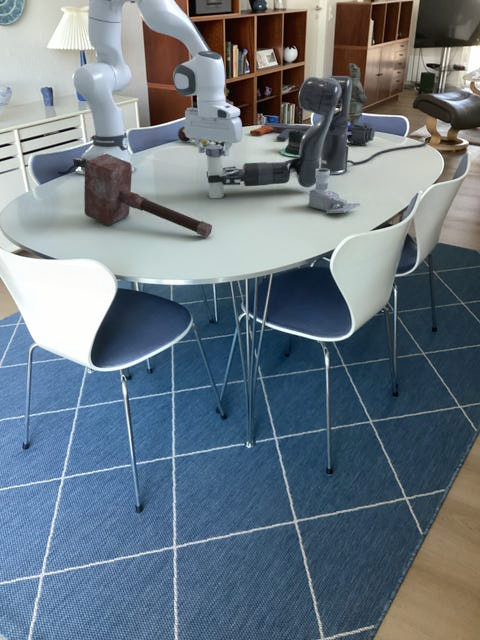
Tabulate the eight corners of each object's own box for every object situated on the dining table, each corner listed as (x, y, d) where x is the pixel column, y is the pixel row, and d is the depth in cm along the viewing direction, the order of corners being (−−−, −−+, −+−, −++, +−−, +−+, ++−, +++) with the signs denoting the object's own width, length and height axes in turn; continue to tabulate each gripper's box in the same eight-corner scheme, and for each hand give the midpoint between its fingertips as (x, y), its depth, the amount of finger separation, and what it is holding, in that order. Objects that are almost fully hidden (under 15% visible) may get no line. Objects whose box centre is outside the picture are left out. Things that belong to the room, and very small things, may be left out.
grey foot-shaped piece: (322, 165, 173) (363, 174, 165) (319, 201, 179) (359, 212, 171) (305, 171, 168) (347, 180, 159) (303, 208, 174) (344, 219, 165)
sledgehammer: (221, 197, 152) (105, 152, 164) (203, 207, 145) (83, 159, 156) (213, 251, 162) (103, 205, 174) (195, 264, 155) (82, 215, 166)
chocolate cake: (332, 145, 241) (326, 158, 224) (294, 164, 249) (286, 177, 233) (317, 113, 235) (310, 124, 219) (279, 133, 244) (269, 145, 228)
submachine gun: (243, 132, 260) (267, 122, 278) (243, 138, 261) (267, 127, 280) (305, 138, 246) (326, 127, 265) (305, 144, 248) (326, 133, 266)
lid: (209, 157, 177) (208, 149, 176) (203, 153, 182) (202, 146, 180) (226, 155, 179) (226, 147, 177) (219, 151, 183) (219, 144, 182)
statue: (367, 132, 266) (374, 63, 251) (349, 133, 264) (355, 64, 249) (357, 127, 275) (362, 61, 260) (339, 129, 273) (344, 62, 258)
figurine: (211, 139, 238) (170, 125, 250) (210, 157, 242) (170, 142, 255) (230, 134, 247) (190, 120, 259) (229, 150, 251) (189, 136, 263)
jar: (205, 196, 187) (203, 149, 179) (216, 192, 190) (214, 146, 182) (216, 199, 184) (214, 151, 176) (226, 195, 187) (225, 148, 179)
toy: (345, 120, 249) (377, 123, 242) (343, 139, 253) (375, 143, 246) (337, 123, 243) (369, 127, 236) (336, 143, 247) (367, 147, 240)
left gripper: (178, 108, 175) (182, 152, 182) (233, 113, 166) (235, 160, 173) (190, 105, 180) (193, 148, 187) (244, 110, 170) (245, 155, 177)
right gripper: (255, 157, 189) (205, 160, 188) (261, 168, 177) (208, 171, 175) (255, 179, 193) (206, 182, 192) (261, 191, 181) (209, 194, 179)
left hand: (213, 154), depth 180 cm, fingers open, 8 cm apart
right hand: (207, 177), depth 183 cm, fingers closed on jar, 5 cm apart
